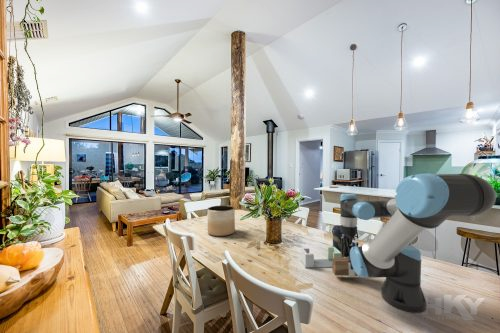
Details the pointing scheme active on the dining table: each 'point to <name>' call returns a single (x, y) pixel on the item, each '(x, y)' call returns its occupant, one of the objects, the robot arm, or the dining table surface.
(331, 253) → the end cap
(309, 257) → the endcap base
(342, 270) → the block
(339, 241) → the canister
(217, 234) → the planter
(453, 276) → the dining table surface
